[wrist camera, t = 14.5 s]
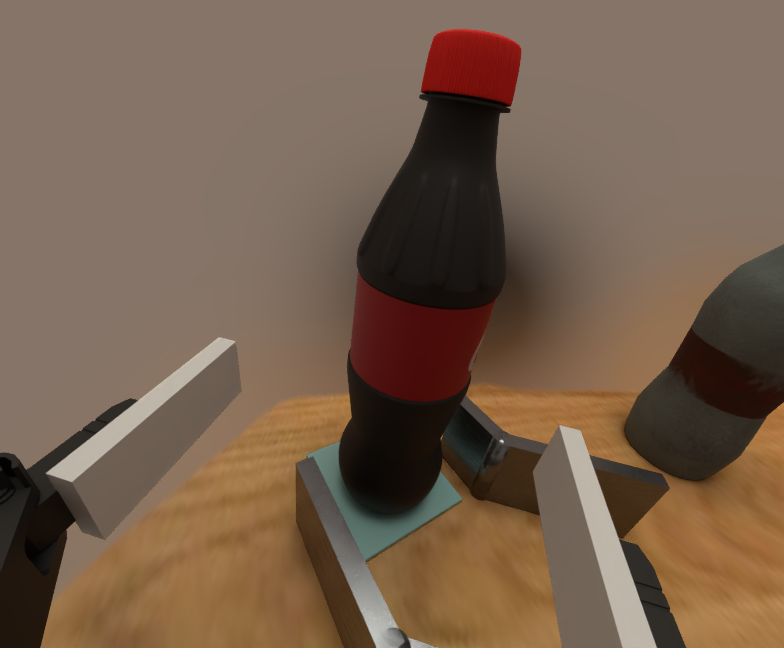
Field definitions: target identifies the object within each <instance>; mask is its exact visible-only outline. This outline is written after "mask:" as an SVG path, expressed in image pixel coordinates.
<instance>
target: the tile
mask: <svg viewBox="0 0 784 648" xmlns="http://www.w3.org/2000/svg"><path fill="white" fill-rule="evenodd" d="M339 445H340V441H339V442H337V443H334V444H332V445H329V446H327V447H324V448H321V449H319V450H316V451H314V452H311V453H309V454H307V456H306V457H307V458H310V457H312V456H313V457H314V459H315V461H316V463H317V465H318V467H319V469H320V471H321V473H322V475H323V477H324V479H325V481H326V483H327V485H328V487H329V489H330V491H331V493H332V495H333V497H334V499H335V501H336V503H337V505H338V507H339V509H340V511H341V513H342V515H343V517H344V519H345V521H346V524H347V526H348V528H349V530H350V532H351V534H352V536H353V538H354V540H355V542H356V544H357V546H358V548H359V550H360V552H361V554H362V556H363V558H364V560H365V562H367V561H369V560H370V559H372V558H373V557H375V556H376V555H378V554H380V553H381V552H383V551H384V550H386V549H387V548H389V547H391V546H392V545H394V544H395V543H397V542H399V541H400V540H402V539H403V538H405V537H406V536H408V535H410V534H411V533H413V532H414V531H416V530H417V529H419V528H421V527H422V526H424V525H425V524H427V523H428V522H430V521H432V520H433V519H435V518H436V517H438V516H440V515H441V514H443V513H444V512H446V511H447V510H449V509H451V508H452V507H454V506H455V505H457V504H458V503H460V502H461V501H462V498H461V496H460V495H459V494H458V493H457V491H456V490H455V489H454V488H453V486H452V485H451V484H450V482H449V481H448V480H447V479H446V477H445V476H444V475H443V474H442V472H441V471H440V474H439V477H438V479H437V481H436V483H435V485H434V487H433V488H432V490H431V491H430V493H429V494H428V495H427V496H426V497H425V498H424V499H423V500H422V501H421V502H420V503H419V504H418V505H416V506H415V507H413V508H412V509H410V510H407V511H405V512H402V513H397V514H382V513H377V512H374V511H371V510H369V509H367V508H365V507H364V506H362V505H361V504H359V503H358V502H357V501H356V500H355V499H354V498H353V497H352V496H351V494H350V493H349V491H348V490H347V488H346V486H345V484H344V482H343V479H342V476H341V472H340V467H339Z"/></svg>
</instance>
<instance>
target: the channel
mask: <svg viewBox="0 0 784 648" xmlns="http://www.w3.org/2000/svg"><path fill="white" fill-rule="evenodd" d="M441 446H442V456H443V458H444V459H445V460H446V461H447V462H448V464H449V465H450V466H451V467H452V468H453V470H454V471H455V472H456V473H457V474H458V476H459V477H460V478H461V479H462V480H463V482H464V483H465V484H466V485H467V486H468V488H469V489H470V492H471V494H472V495H473V496H474V497H475V498H476V499H478V500H485V499H486V500H489V501H493V502H496V503H500V504H503V505H507V506H510V507H514V508H518V509H521V510H525V511H528V512H532V513H535V514H539V515H540V512H539V506H538V500H537V494H536V488H535V482H534V476H533V470H534V469H535V467H536V465H537V463H538V462H539V460H540V458H541V456H542V455H543V453H544V451H545V449H546V448H547V446H548V444H544V443H540V442H537V441H533V440H529V439H525V438H521V437H517V436H514V435H510V434H508V433H507V432H505V431H503V430H502V429H501V428H500V427H498V426H497V425H496V424H495V423H494V422H493V421H492V420H491V419H490V418H489V417H488V416H487V415H486V414H485V413H484V412H482V411H481V410H480V409H479V408H478V407H477V406H476V405H475V404H474V403H473V402H472V401H471V400H470V399H469V398H468V397H466V396H465V397H464V399H463V400H462V402H461V404H460V406H459V407H458V409H457V411H456V412H455V414H454V416H453V418H452V419H451V421H450V423H449V424H448V426H447V428H446V430H445V431H444V434H443V437H442V440H441ZM589 456H590V459H591V462H592V465H593V468H594V470H595V473H596V476H597V479H598V482H599V485H600V488H601V490H602V493H603V496H604V499H605V502H606V505H607V507H608V510H609V513H610V516H611V519H612V522H613V525H614V527H615V530H616V533H617V536H618V537H620V538H623V537H624V536H625V535H626V534H627V533H628V532H629V531H630V530H631V529H632V528H633V527H634V526H635V525H636V524H637V523H638V522H639V520H640V519H641V518H642V517H643V516H644V515H645V514H646V513H647V512H648V511H649V510H650V509H651V508H652V507H653V506H654V505H655V504H656V502H657V501H658V500H659V499H660V498H661V497H662V496H663V495H664V494H665V493H666V492H667V491H668V490H669V489H670V487H669V486H668V484H667V482H666V480H665V478H664V477H663V475H662V474H660V473H656V472H652V471H648V470H644V469H641V468H637V467H633V466H629V465H625V464H621V463H617V462H614V461H610V460H606V459H602V458H598V457H594V456H591V455H589ZM296 522H297V525H298V528H299V530H300V533H301V535H302V538H303V541H304V543H305V546H306V548H307V551H308V554H309V556H310V559H311V561H312V564H313V567H314V569H315V572H316V574H317V577H318V580H319V582H320V585H321V588H322V590H323V593H324V595H325V598H326V601H327V603H328V606H329V608H330V611H331V614H332V616H333V619H334V621H335V624H336V627H337V629H338V632H339V634H340V637H341V640H342V642H343V645H344V647H345V648H437V647H434V646H431V645H428V644H425V643H422V642H419V641H416V640H414V639H411V638H408V637H407V636H406V634H405V633H404V632H403V631H402V630H400V629H398V627H397V625H396V623H395V621H394V619H393V617H392V615H391V613H390V611H389V608H388V606H387V604H386V602H385V600H384V598H383V596H382V594H381V592H380V590H379V588H378V586H377V584H376V582H375V580H374V578H373V576H372V574H371V572H370V570H369V568H368V566H367V564H366V562H365V560H364V558H363V556H362V554H361V552H360V550H359V548H358V546H357V544H356V542H355V540H354V538H353V536H352V534H351V532H350V530H349V528H348V526H347V524H346V521H345V519H344V517H343V515H342V513H341V511H340V509H339V507H338V505H337V503H336V501H335V499H334V497H333V495H332V493H331V491H330V489H329V487H328V485H327V483H326V481H325V479H324V477H323V475H322V473H321V471H320V469H319V467H318V465H317V463H316V461H315V459H314V457H313V456H312V457H310V458H307V459H305V460H302V461H300V462H298V463H296Z"/></svg>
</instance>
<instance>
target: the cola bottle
mask: <svg viewBox="0 0 784 648" xmlns="http://www.w3.org/2000/svg"><path fill="white" fill-rule="evenodd" d="M520 60H521V48H520V46H519V45H518V44H517V43H516V42H514V41H513V40H511V39H509V38H507V37H504V36H501V35H498V34H494V33H490V32H485V31H479V30H468V29H454V30H448V31H443V32H440V33H438V34H437V35H436V36H434V39H433V42H432V44H431V48H430V51H429V55H428V59H427V63H426V68H425V73H424V77H423V82H422V88H421V92H422V93H424V94H422V95H420V97H419V98H420V99H422V100H425V101H428V103H427V107H426V110H425V114H424V116H423V119H422V122H421V125H420V128H419V131H418V134H417V136H416V139H415V142H414V145H413V147H412V149H411V151H410V153H409V155H408V157H407V158H406V160H405V162H404V163H403V165H402V167H401V169H400V170H399V172H398V173H397V175H396V177H395V178H394V180H393V182H392V183H391V185H390V187H389V188H388V190H387V192H386V193H385V195H384V197H383V199H382V200H381V202H380V204H379V206H378V208H377V210H376V211H375V213H374V215H373V217H372V219H371V222H370V223H369V225H368V227H367V230H366V232H365V234H364V236H363V238H362V240H361V242H360V244H359V247H358V252H357V268H358V276H357V287H356V297H355V308H354V318H353V329H352V339H351V348H350V350H349V353H348V361H347V373H348V383H349V394H350V404H351V414H352V418H351V420H350V421H349V423H348V424H347V426H346V428H345V430H344V432H343V435H342V437H341V441H340V445H339V467H340V472H341V476H342V479H343V482H344V484H345V486H346V488H347V490H348V491H349V493H350V494H351V496H352V497H353V498H354V499H355V500H356V501H357V502H358V503H359V504H361V505H362V506H364V507H365V508H367V509H369V510H371V511H374V512H377V513H382V514H397V513H402V512H405V511H407V510H410V509H412V508H413V507H415V506H416V505H418V504H419V503H420V502H421V501H422V500H423V499H424V498H425V497H426V496H427V495H428V494H429V493H430V491H431V490H432V488H433V487H434V485H435V483H436V481H437V479H438V477H439V474H440V470H441V465H442V446H441V439H440V438H441V436H442V435H443V433H444V431H445V430H446V428H447V426H448V424H449V423H450V421H451V419H452V418H453V416H454V414H455V412H456V411H457V409H458V407H459V406H460V404H461V402H462V400H463V399H464V397H465V395H466V392H467V390H468V387H469V384H470V380H471V372H472V369H473V366H474V363H475V360H476V357H477V354H478V351H479V348H480V345H481V342H482V340H483V337H484V334H485V331H486V328H487V325H488V322H489V319H490V316H491V313H492V310H493V307H494V304H495V301H496V298H497V297H498V296H499V294H500V293H501V291H502V288H503V285H504V282H505V279H506V253H505V234H504V224H503V215H502V207H501V200H500V193H499V186H498V180H497V172H496V148H497V136H498V124H499V116H500V113H510V109H509V108H507V107H509V106H511V104H512V101H513V96H514V92H515V87H516V83H517V77H518V72H519V66H520Z"/></svg>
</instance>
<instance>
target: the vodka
mask: <svg viewBox="0 0 784 648" xmlns="http://www.w3.org/2000/svg"><path fill="white" fill-rule="evenodd" d="M783 402H784V245H782V246H779V247H778V248H775V249H774V250H771V251H769V252H767V253H765V254H763V255H761V256H759V257H757V258H755V259H753V260H751V261H749V262H747V263H744V264H743V265H741V266H739V267H738V268H737V269H736V270H734V271H733V272H732V273H731V274H730V275H728V276H727V277H726V278H725V279H724V280H723V281H722V282H721V283H720V284H719V286H718V287H717V288H716V289H715V290H714V291H713V292H712V293H711V295H710V296H709V297H708V298H707V299H706V300H705V301H704V303H703V305H702V308H701V309H700V311H699V313H698V315H697V317H696V319H695V321H694V323H693V325H692V326H691V328H690V330H689V331H688V333H687V335H686V337H685V338H684V340H683V342H682V344H681V345H680V347H679V349H678V350H677V352H676V354H675V356H674V357H673V359H672V361H671V362H670V364H669V366H668V367H667V368H666V369H665V370H663V371H662V372H661V373H660V374H659V375H658V376H657V377H656V378H655V379H654V380H653V381H652V382H651V383H650V384H649V385H648V386H647V387H646V388H645V389H644V390H643V391H642V392H641V394H640V395H639V396H638V397H637V399H636V401H635V403H634V405H633V407H632V409H631V411H630V413H629V416H628V418H627V421H626V426H625V433H626V437H627V439H628V441H629V442H630V444H631V445H632V446H633V448H634V449H635V450H636V451H637V452H638V453H639V454H640V455H641V456H643V457H644V458H645V459H646V460H648V461H649V462H650V463H652V464H653V465H655V466H656V467H658V468H660V469H662V470H663V471H665V472H667V473H669V474H672V475H674V476H677V477H679V478H684V479H688V480H700V479H704V478H706V477H709V476H711V475H713V474H715V473H717V472H718V471H720V470H721V469H723V468H724V467H726V466H727V465H728V464H730V463H731V462H733V461H734V460H736V459H737V458H738V457H739V456H740V455H741V454H742V453H743V451H744V450H745V448H746V447H747V446H748V444H749V443H750V441H751V440H752V439H753V437H754V436H755V434H756V433H757V431H758V430H759V428H760V427H761V425H762V423H763V422H764V420H765V419H766V417H767V416H768V415H769V414H770V413H771V412H772V411H773V410H775V409H776V408H777V407H778V406H779V405H781V404H782V403H783Z"/></svg>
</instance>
